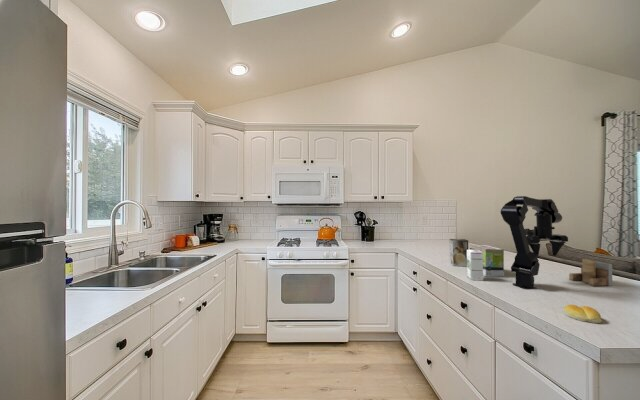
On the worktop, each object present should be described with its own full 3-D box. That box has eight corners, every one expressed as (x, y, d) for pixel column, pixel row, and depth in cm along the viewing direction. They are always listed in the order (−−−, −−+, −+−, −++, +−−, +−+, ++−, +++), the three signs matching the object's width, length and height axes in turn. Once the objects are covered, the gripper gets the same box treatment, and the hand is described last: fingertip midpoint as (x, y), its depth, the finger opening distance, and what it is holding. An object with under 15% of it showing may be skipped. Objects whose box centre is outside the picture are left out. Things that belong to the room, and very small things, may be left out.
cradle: (593, 285, 118) (593, 270, 118) (569, 279, 127) (569, 265, 128) (608, 285, 119) (608, 270, 119) (583, 278, 129) (583, 265, 129)
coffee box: (464, 264, 160) (464, 238, 160) (469, 266, 154) (469, 240, 154) (449, 263, 162) (449, 238, 162) (452, 266, 155) (452, 239, 155)
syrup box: (483, 280, 126) (483, 251, 126) (470, 280, 127) (470, 251, 127) (478, 277, 132) (478, 249, 132) (466, 276, 133) (466, 249, 133)
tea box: (504, 277, 133) (504, 248, 133) (485, 277, 133) (485, 248, 133) (486, 269, 148) (486, 244, 148) (468, 269, 148) (468, 244, 148)
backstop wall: (608, 285, 119) (608, 264, 119) (583, 279, 129) (583, 259, 129) (612, 285, 119) (612, 264, 119) (587, 279, 129) (587, 259, 129)
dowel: (590, 284, 121) (590, 261, 121) (579, 281, 125) (579, 259, 125) (598, 284, 121) (598, 261, 121) (587, 281, 126) (587, 259, 126)
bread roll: (560, 310, 92) (560, 299, 92) (595, 316, 87) (595, 305, 87) (567, 319, 85) (566, 307, 85) (605, 326, 80) (605, 313, 80)
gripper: (546, 222, 133) (547, 251, 133) (512, 223, 132) (513, 253, 132) (568, 224, 122) (569, 256, 122) (531, 226, 121) (532, 258, 121)
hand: (545, 256), depth 125 cm, fingers open, 9 cm apart
